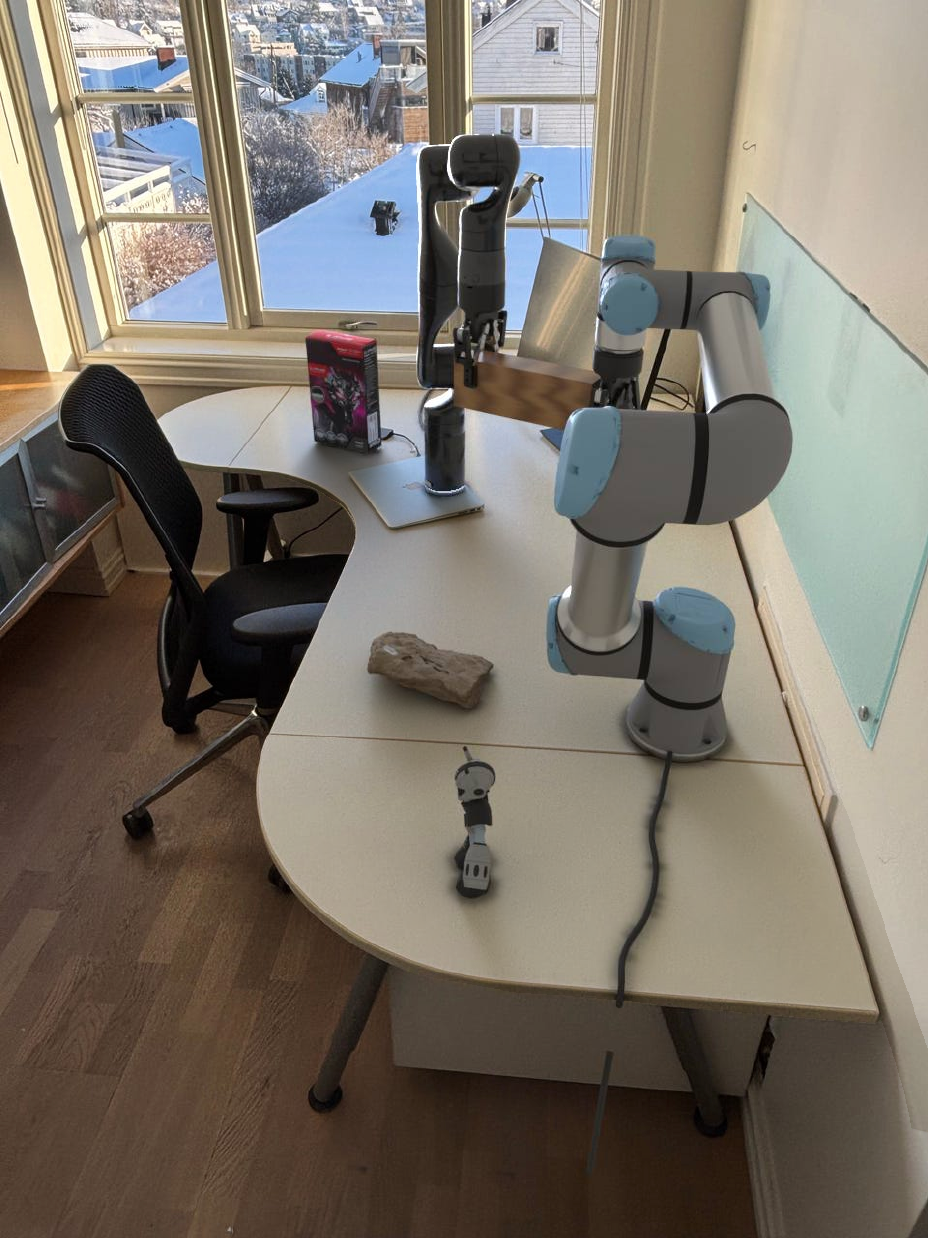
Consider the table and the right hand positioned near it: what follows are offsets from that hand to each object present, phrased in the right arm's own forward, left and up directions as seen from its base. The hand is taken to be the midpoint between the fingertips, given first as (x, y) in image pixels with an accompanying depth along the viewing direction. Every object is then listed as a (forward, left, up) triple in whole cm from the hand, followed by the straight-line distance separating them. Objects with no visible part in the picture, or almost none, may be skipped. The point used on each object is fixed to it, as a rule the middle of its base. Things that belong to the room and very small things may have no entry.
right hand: (605, 475), depth 151 cm
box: (+4, +14, +7) cm, 17 cm away
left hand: (+6, +23, +12) cm, 27 cm away
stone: (-24, +24, -30) cm, 45 cm away
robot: (-61, +6, -30) cm, 68 cm away
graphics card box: (+64, +72, -30) cm, 101 cm away
